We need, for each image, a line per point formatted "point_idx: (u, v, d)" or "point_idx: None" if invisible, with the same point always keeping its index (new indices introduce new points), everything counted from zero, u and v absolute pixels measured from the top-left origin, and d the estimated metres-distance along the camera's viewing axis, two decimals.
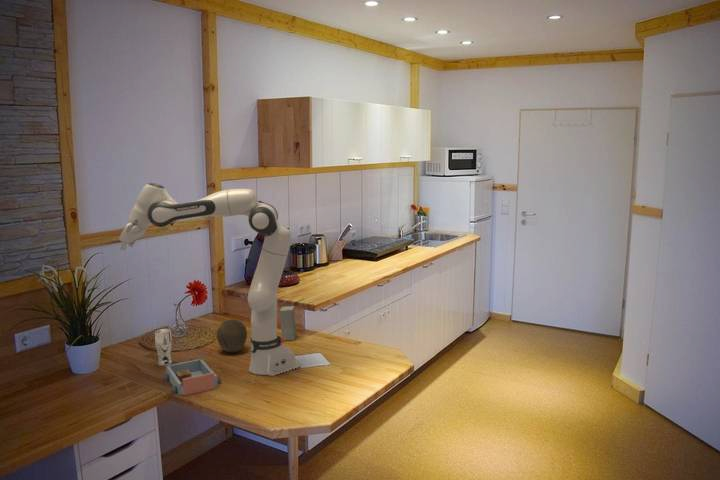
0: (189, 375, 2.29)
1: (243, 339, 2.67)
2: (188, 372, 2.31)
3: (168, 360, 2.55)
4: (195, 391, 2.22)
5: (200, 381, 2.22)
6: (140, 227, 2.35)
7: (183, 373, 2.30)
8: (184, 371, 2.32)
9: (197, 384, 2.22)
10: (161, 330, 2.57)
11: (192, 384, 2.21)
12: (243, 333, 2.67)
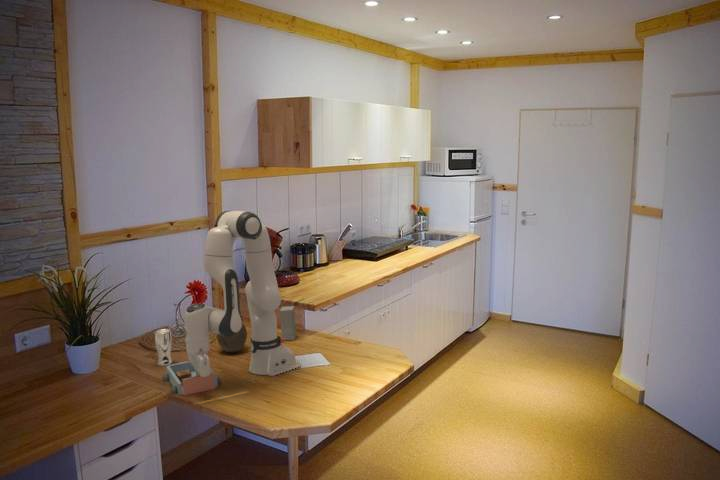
0: (189, 375, 2.29)
1: (243, 339, 2.67)
2: (188, 372, 2.31)
3: (168, 360, 2.55)
4: (195, 391, 2.22)
5: (200, 381, 2.22)
6: (205, 353, 2.22)
7: (183, 373, 2.30)
8: (184, 371, 2.32)
9: (197, 384, 2.22)
10: (161, 330, 2.57)
11: (192, 384, 2.21)
12: (243, 333, 2.67)
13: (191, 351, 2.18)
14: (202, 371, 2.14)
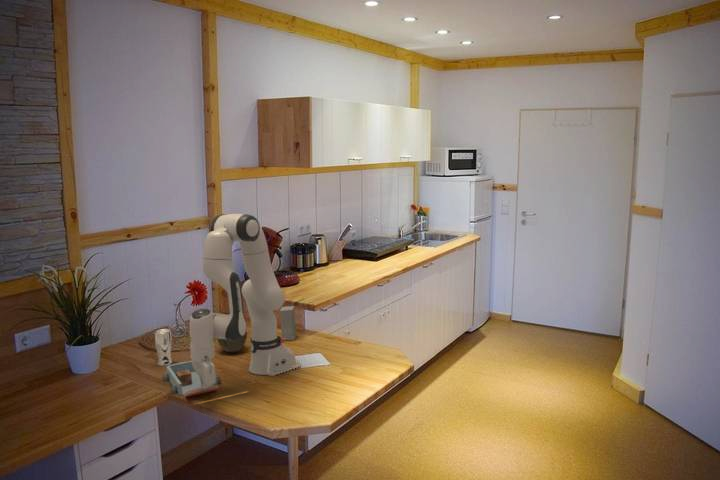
0: (189, 375, 2.29)
1: (243, 339, 2.67)
2: (188, 372, 2.31)
3: (168, 360, 2.55)
4: None
5: (203, 391, 2.19)
6: (210, 360, 2.16)
7: (183, 373, 2.30)
8: (184, 371, 2.32)
9: (200, 392, 2.20)
10: (161, 330, 2.57)
11: (195, 393, 2.18)
12: None
13: (196, 358, 2.12)
14: (207, 379, 2.08)
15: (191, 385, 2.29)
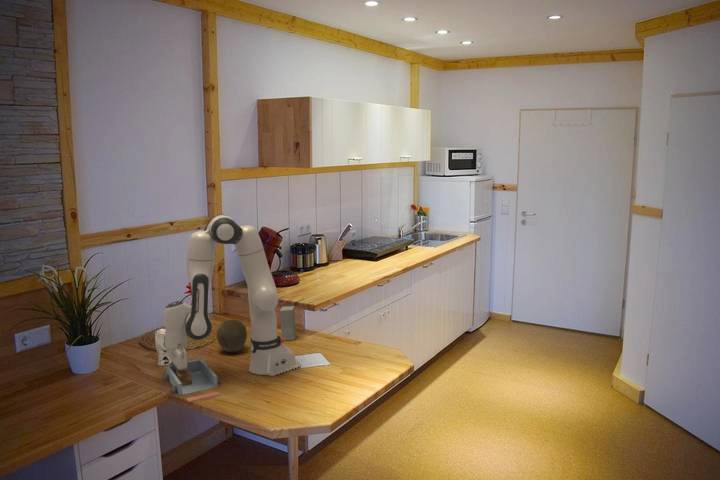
0: (189, 375, 2.29)
1: (243, 339, 2.67)
2: (188, 372, 2.31)
3: (168, 360, 2.55)
4: None
5: None
6: (183, 347, 2.35)
7: (183, 373, 2.30)
8: (184, 371, 2.32)
9: None
10: (161, 330, 2.57)
11: None
12: (243, 333, 2.67)
13: (169, 346, 2.32)
14: (179, 364, 2.28)
15: (191, 385, 2.29)
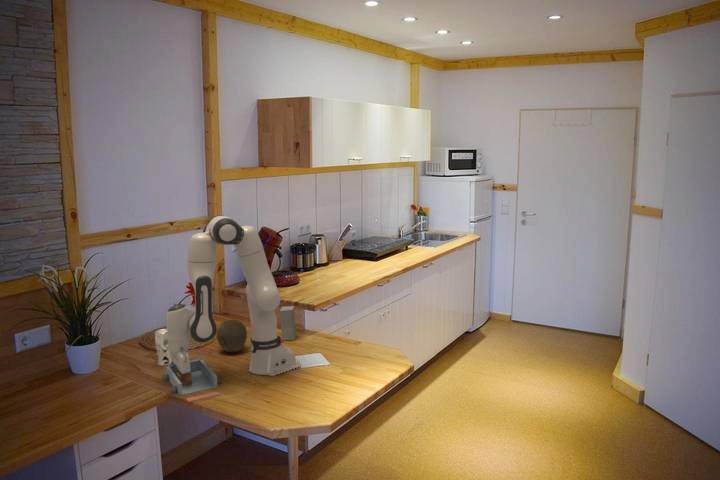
0: (189, 375, 2.29)
1: (243, 339, 2.67)
2: None
3: (168, 360, 2.55)
4: None
5: None
6: (186, 351, 2.33)
7: None
8: None
9: None
10: (161, 330, 2.57)
11: None
12: (243, 333, 2.67)
13: (172, 349, 2.29)
14: (182, 368, 2.25)
15: (191, 385, 2.29)
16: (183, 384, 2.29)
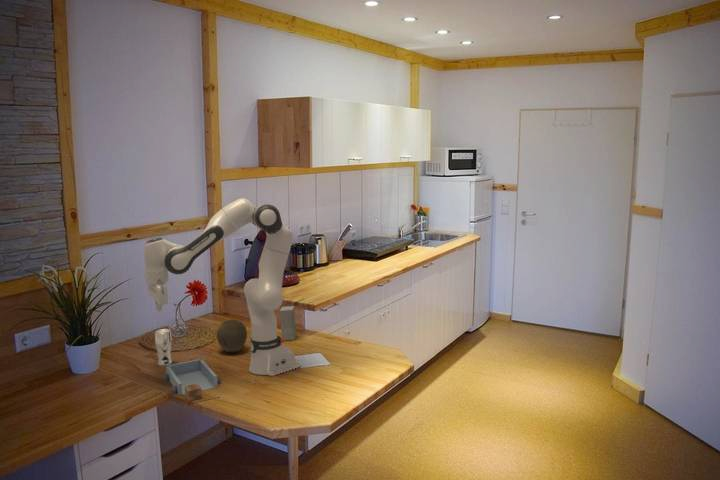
0: (199, 390, 2.17)
1: (243, 339, 2.67)
2: (198, 386, 2.18)
3: (168, 360, 2.55)
4: None
5: None
6: (164, 284, 2.34)
7: (192, 388, 2.17)
8: (193, 385, 2.19)
9: None
10: (161, 330, 2.57)
11: None
12: (243, 333, 2.67)
13: (150, 281, 2.30)
14: (160, 299, 2.26)
15: None
16: (192, 399, 2.16)
